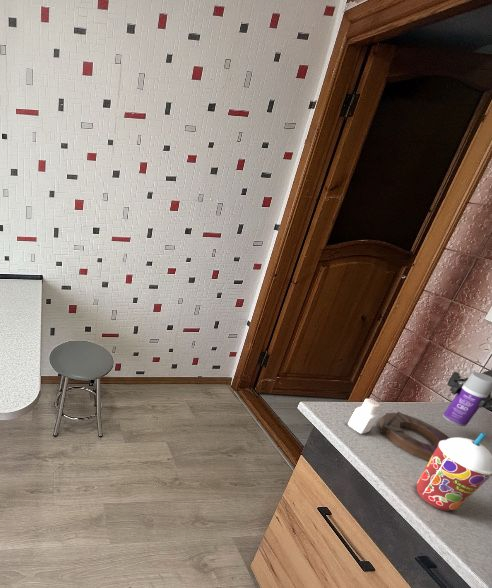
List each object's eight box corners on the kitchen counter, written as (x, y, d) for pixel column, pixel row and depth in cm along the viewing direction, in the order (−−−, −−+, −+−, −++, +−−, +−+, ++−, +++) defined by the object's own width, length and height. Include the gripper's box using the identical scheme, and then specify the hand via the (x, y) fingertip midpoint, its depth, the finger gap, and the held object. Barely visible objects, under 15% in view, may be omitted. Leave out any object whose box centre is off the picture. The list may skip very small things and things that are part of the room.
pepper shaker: (355, 421, 96) (369, 396, 92) (369, 432, 93) (385, 406, 89) (346, 424, 95) (360, 398, 91) (360, 435, 92) (376, 408, 88)
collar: (459, 448, 90) (464, 441, 89) (445, 473, 82) (450, 466, 81) (389, 412, 101) (393, 406, 100) (371, 431, 93) (375, 424, 92)
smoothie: (441, 520, 71) (496, 453, 62) (399, 484, 78) (444, 420, 70) (469, 514, 72) (526, 448, 64) (426, 479, 80) (472, 416, 72)
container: (445, 421, 92) (475, 378, 86) (440, 411, 96) (469, 369, 90) (468, 429, 90) (501, 385, 84) (463, 419, 94) (494, 376, 87)
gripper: (468, 359, 99) (440, 370, 93) (542, 390, 87) (515, 404, 81) (455, 379, 102) (426, 391, 96) (525, 411, 90) (497, 427, 84)
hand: (467, 397), depth 88 cm, fingers closed on container, 4 cm apart
